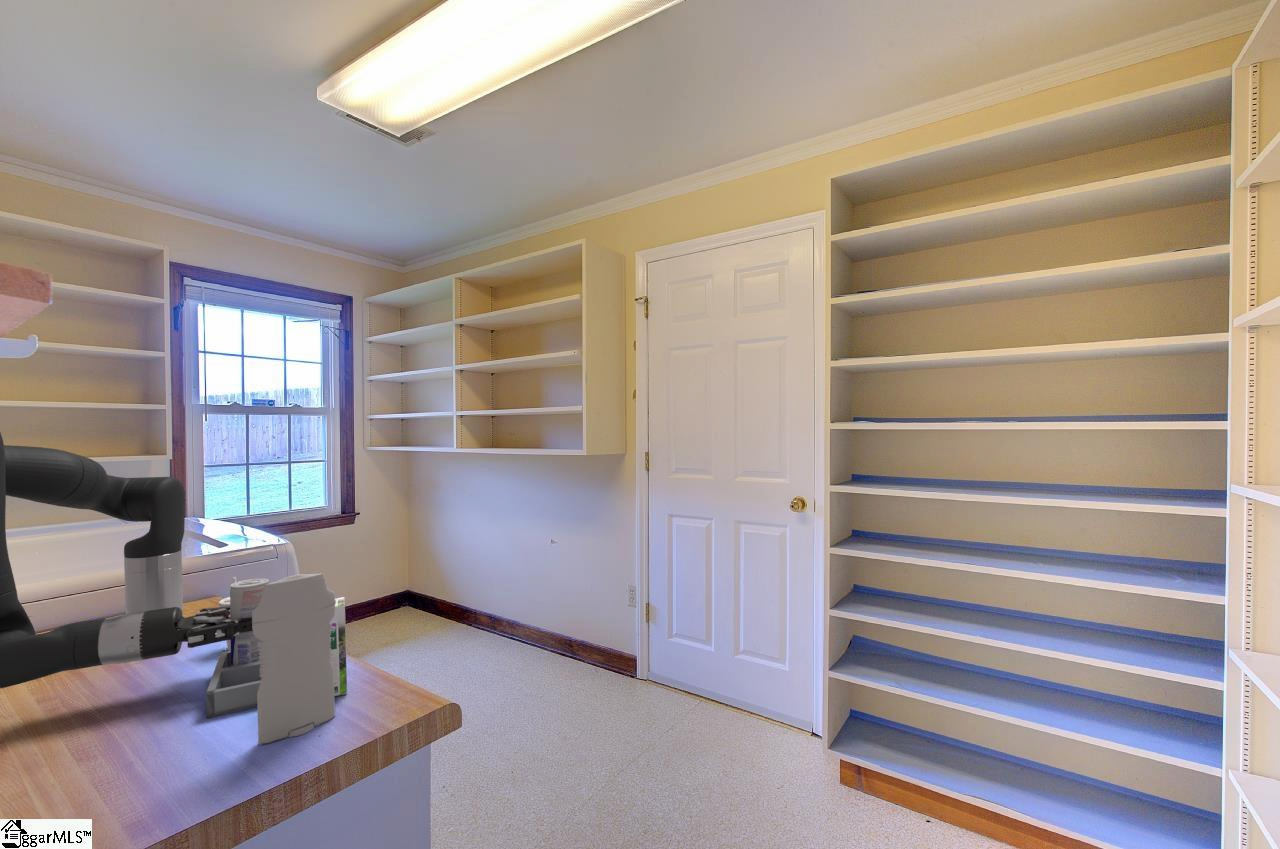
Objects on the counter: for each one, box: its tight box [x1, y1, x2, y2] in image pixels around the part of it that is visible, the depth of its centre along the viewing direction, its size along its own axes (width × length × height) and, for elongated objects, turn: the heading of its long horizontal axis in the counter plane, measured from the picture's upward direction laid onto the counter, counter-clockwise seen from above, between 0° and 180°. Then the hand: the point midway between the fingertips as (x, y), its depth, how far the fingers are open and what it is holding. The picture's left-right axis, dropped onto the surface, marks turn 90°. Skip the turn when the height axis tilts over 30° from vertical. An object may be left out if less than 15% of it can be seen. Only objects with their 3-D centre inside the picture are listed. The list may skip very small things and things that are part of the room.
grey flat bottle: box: [252, 572, 336, 746], centre depth 81 cm, size 11×4×22 cm, turn 139°
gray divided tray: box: [205, 650, 261, 719], centre depth 95 cm, size 18×10×4 cm, turn 31°
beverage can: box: [229, 577, 270, 667], centre depth 99 cm, size 6×6×15 cm
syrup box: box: [330, 596, 348, 697], centre depth 93 cm, size 6×6×14 cm
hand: (267, 616), depth 100 cm, fingers closed on beverage can, 5 cm apart
